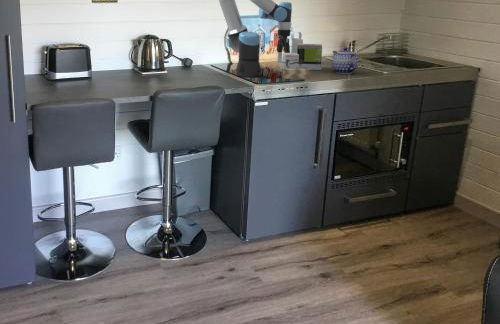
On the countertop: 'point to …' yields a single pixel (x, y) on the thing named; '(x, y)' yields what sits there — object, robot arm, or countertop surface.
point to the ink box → (290, 61)
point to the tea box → (309, 56)
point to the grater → (294, 42)
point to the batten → (296, 73)
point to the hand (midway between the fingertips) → (282, 65)
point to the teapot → (344, 61)
